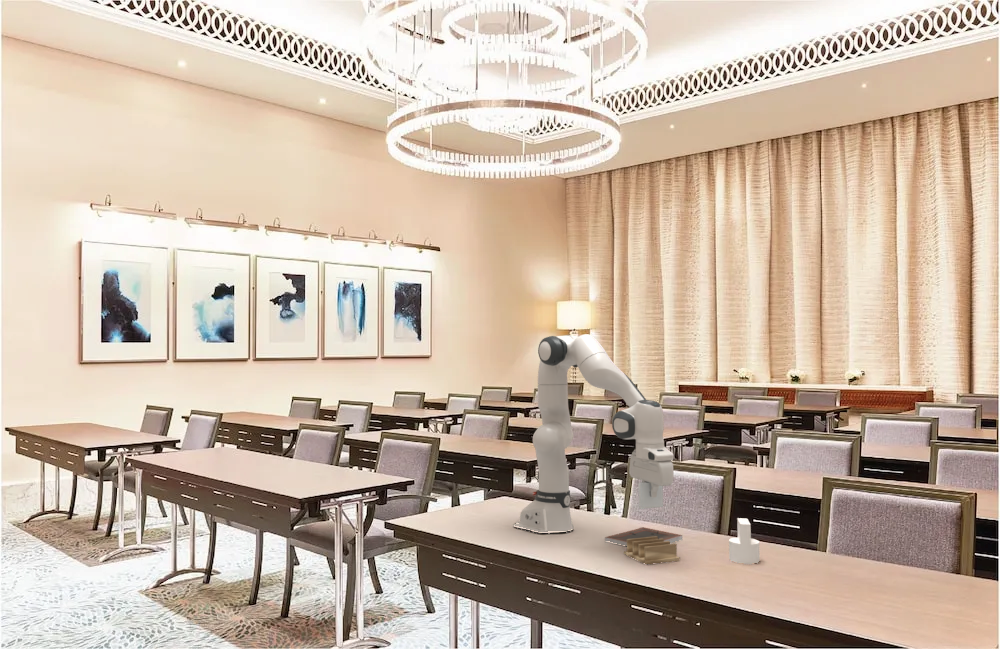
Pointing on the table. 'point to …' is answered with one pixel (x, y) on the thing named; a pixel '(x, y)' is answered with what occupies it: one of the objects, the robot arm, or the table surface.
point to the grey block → (645, 498)
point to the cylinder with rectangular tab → (744, 544)
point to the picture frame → (642, 535)
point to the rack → (651, 550)
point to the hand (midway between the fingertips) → (650, 496)
